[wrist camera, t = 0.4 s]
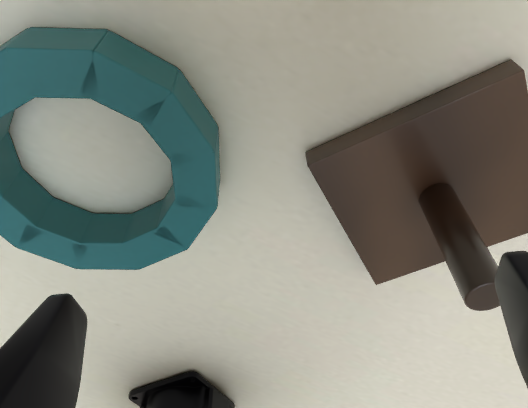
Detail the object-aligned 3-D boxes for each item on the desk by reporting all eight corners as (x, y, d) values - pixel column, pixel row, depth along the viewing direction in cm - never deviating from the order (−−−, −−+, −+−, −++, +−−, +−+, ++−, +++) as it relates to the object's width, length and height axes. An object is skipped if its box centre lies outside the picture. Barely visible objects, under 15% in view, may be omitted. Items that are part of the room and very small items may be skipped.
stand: (371, 270, 28) (403, 386, 22) (305, 151, 23) (324, 264, 17) (540, 211, 25) (628, 325, 20) (511, 58, 20) (623, 154, 14)
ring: (88, 265, 27) (76, 296, 26) (-93, 107, 21) (-127, 134, 19) (261, 188, 24) (262, 218, 22) (113, -30, 17) (96, -14, 15)
